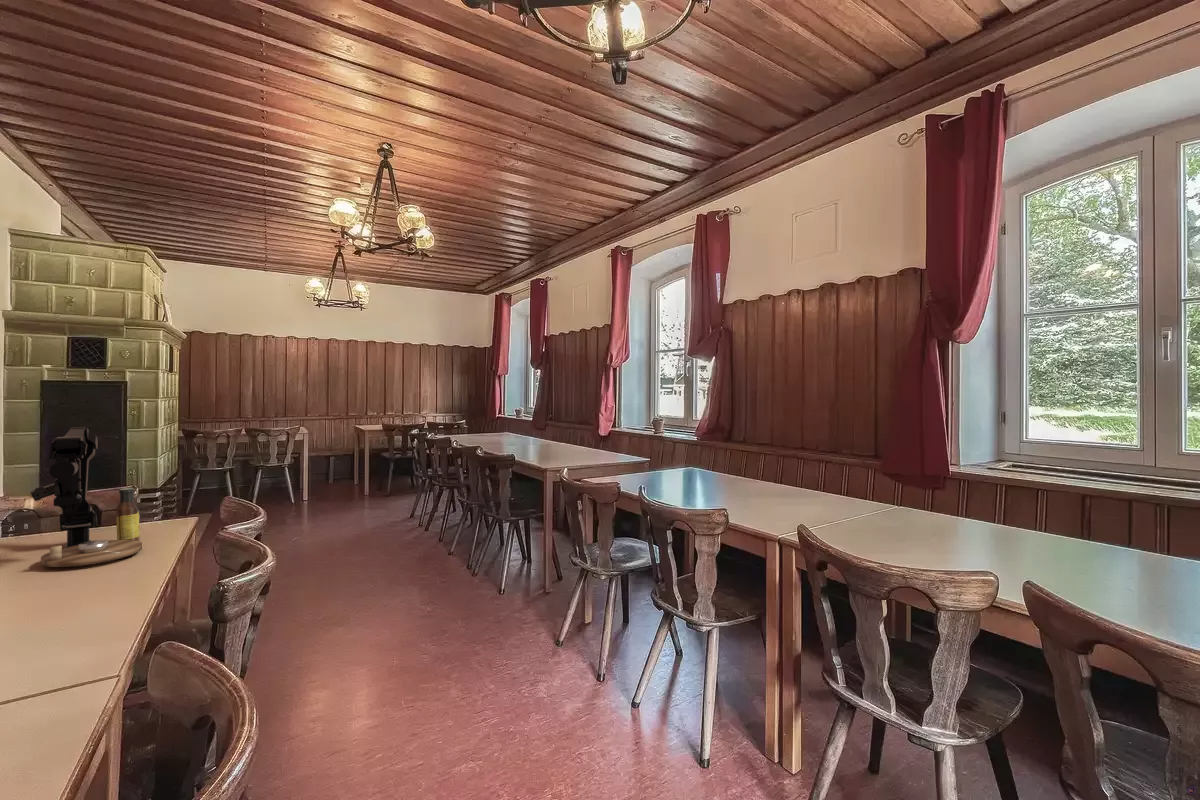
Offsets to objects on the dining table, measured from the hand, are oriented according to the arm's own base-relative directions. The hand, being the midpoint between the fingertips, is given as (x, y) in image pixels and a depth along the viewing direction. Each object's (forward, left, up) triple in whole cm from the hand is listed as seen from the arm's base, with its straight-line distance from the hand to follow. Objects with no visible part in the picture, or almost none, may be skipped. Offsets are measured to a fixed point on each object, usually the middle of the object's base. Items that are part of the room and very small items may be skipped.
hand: (68, 522), depth 172 cm
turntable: (+6, +6, -11) cm, 14 cm away
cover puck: (+6, +6, -9) cm, 13 cm away
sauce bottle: (-11, +15, -12) cm, 22 cm away
